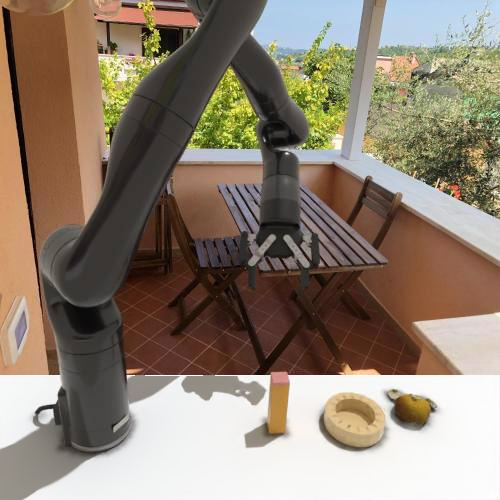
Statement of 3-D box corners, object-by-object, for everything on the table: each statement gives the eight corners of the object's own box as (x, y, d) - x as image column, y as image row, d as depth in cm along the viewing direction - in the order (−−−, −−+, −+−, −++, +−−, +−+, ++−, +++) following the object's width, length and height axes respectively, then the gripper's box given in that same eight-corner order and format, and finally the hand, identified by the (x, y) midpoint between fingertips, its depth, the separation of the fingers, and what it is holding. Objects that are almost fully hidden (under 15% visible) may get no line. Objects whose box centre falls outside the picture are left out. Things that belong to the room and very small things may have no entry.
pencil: (269, 433, 68) (273, 382, 65) (267, 421, 71) (270, 371, 67) (285, 433, 69) (290, 382, 65) (282, 421, 71) (286, 371, 67)
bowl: (333, 448, 66) (334, 435, 65) (317, 405, 75) (319, 393, 74) (392, 445, 67) (395, 433, 66) (370, 403, 76) (372, 391, 75)
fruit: (435, 402, 77) (439, 385, 76) (436, 434, 70) (441, 417, 68) (388, 390, 80) (391, 373, 78) (384, 420, 72) (387, 402, 71)
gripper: (240, 195, 76) (235, 282, 71) (321, 196, 75) (322, 285, 70) (243, 213, 83) (238, 294, 78) (316, 214, 82) (317, 296, 77)
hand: (278, 290), depth 74 cm, fingers open, 8 cm apart
